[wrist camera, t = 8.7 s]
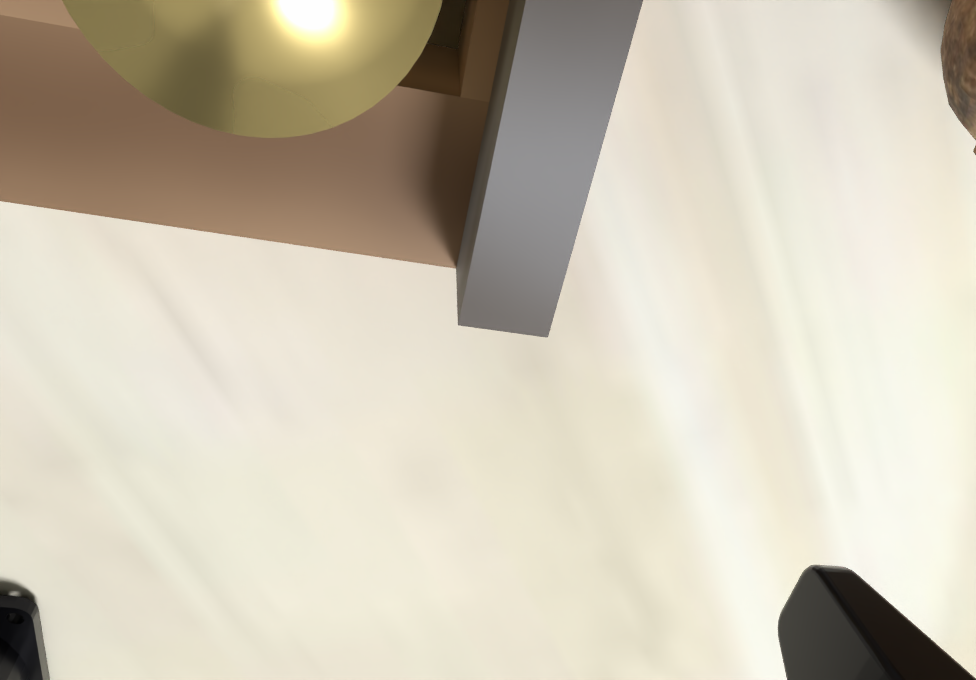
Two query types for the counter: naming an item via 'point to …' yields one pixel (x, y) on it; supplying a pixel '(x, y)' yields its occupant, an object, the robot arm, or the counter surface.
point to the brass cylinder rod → (260, 56)
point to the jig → (347, 151)
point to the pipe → (961, 62)
